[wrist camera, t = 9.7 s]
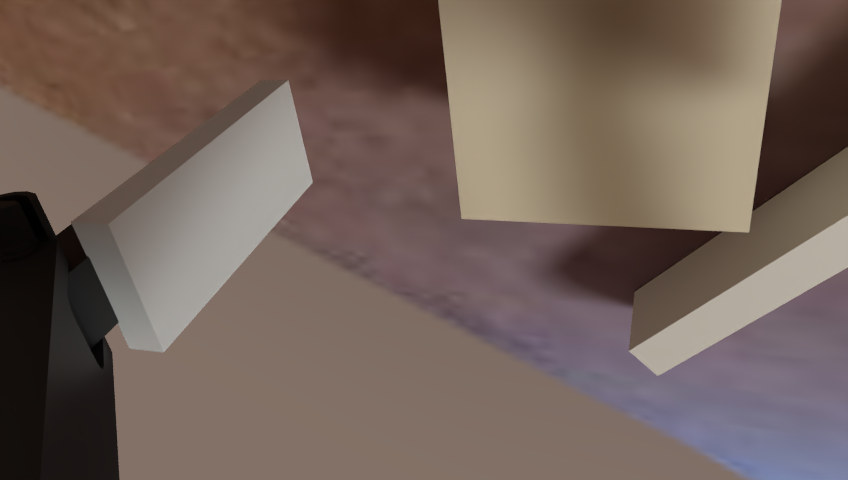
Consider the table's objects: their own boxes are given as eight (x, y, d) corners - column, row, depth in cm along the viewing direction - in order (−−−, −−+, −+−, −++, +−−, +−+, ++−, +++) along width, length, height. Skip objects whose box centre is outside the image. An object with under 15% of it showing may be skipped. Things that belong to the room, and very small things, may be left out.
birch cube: (513, 119, 27) (461, 218, 21) (500, -104, 23) (431, -64, 17) (731, 119, 25) (749, 232, 18) (760, -131, 21) (795, -96, 14)
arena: (349, 40, 28) (306, 72, 25) (743, -517, 17) (756, -588, 14) (660, 314, 30) (658, 376, 27) (1181, -18, 19) (1279, 19, 16)
